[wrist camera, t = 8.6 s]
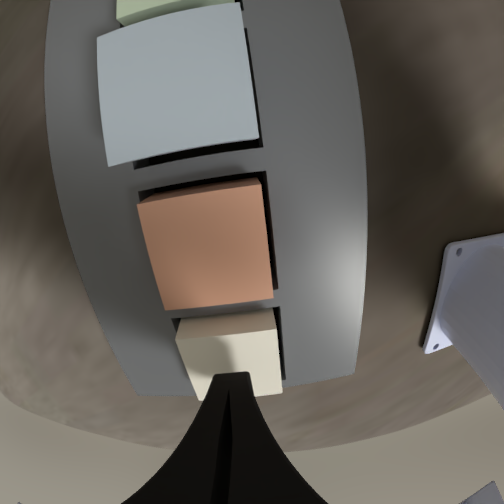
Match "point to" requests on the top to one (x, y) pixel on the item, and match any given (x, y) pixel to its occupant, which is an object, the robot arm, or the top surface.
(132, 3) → the key sage
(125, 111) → the key slate
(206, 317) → the key ivory
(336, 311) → the grey slotted tray
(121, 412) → the top surface
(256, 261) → the key terracotta
